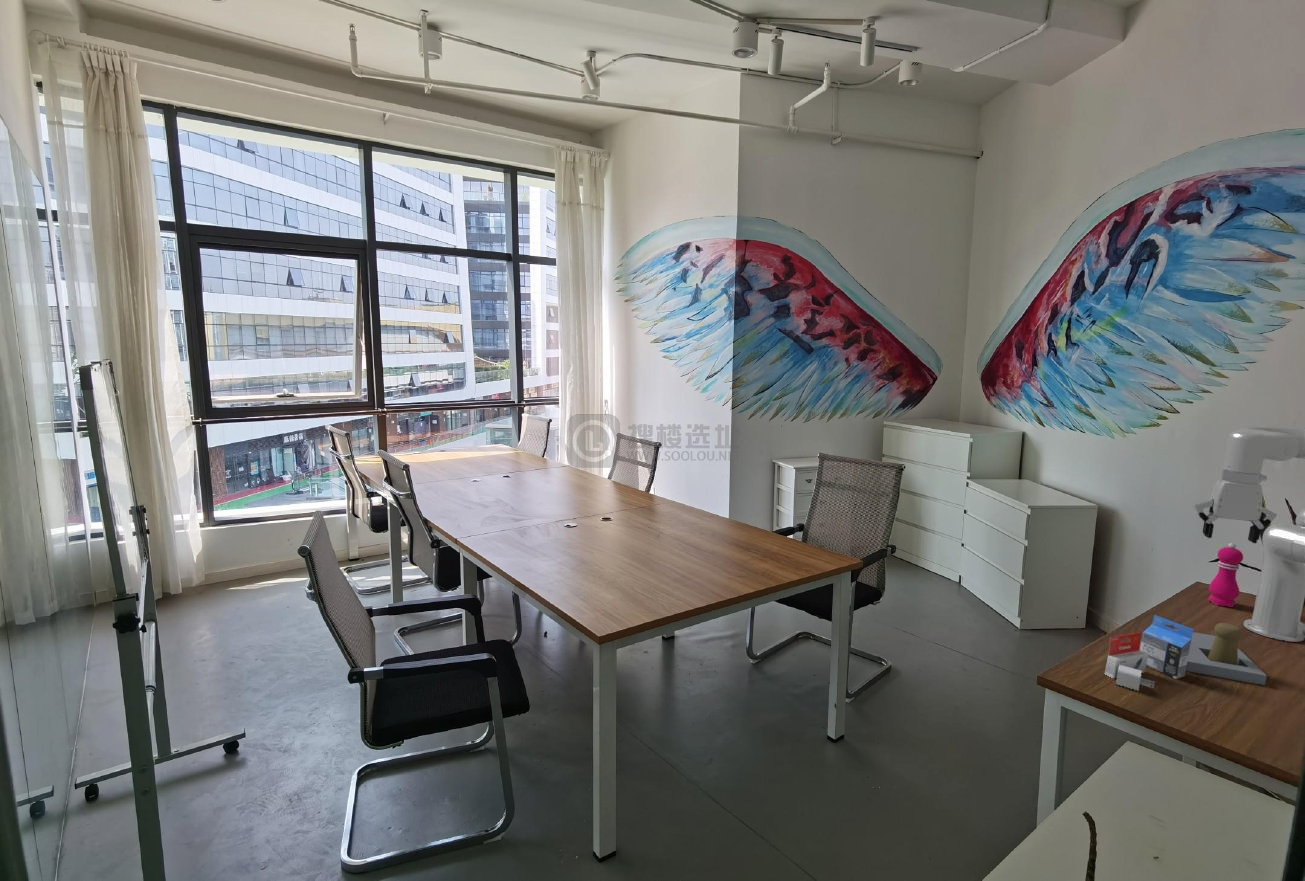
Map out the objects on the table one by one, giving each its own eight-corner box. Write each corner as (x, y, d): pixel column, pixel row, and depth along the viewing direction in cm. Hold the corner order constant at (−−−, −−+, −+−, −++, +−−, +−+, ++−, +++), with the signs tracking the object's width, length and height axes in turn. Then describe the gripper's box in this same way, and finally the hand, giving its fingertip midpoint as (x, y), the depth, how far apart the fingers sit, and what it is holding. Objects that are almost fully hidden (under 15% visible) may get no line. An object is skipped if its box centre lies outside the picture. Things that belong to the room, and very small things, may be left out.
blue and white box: (1136, 662, 163) (1143, 616, 161) (1145, 660, 165) (1153, 614, 163) (1176, 679, 155) (1184, 631, 153) (1185, 677, 157) (1194, 629, 155)
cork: (1199, 660, 166) (1206, 620, 164) (1221, 660, 166) (1228, 620, 164) (1221, 672, 160) (1229, 630, 158) (1244, 672, 160) (1252, 630, 158)
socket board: (1225, 646, 174) (1226, 637, 174) (1264, 685, 154) (1266, 675, 154) (1153, 634, 180) (1154, 625, 180) (1182, 670, 160) (1184, 660, 160)
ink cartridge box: (1145, 673, 158) (1151, 636, 157) (1113, 680, 154) (1119, 641, 153) (1135, 668, 160) (1141, 631, 159) (1103, 674, 157) (1109, 636, 155)
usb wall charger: (1117, 679, 155) (1119, 663, 154) (1153, 689, 150) (1156, 673, 150) (1115, 685, 152) (1117, 669, 151) (1152, 696, 147) (1155, 680, 147)
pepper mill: (1242, 609, 200) (1254, 547, 197) (1215, 607, 202) (1226, 545, 199) (1227, 600, 207) (1238, 540, 204) (1201, 598, 209) (1211, 538, 206)
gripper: (1274, 478, 173) (1263, 540, 176) (1195, 471, 180) (1185, 531, 182) (1289, 484, 166) (1277, 548, 169) (1206, 476, 173) (1195, 538, 175)
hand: (1229, 539), depth 176 cm, fingers open, 9 cm apart
